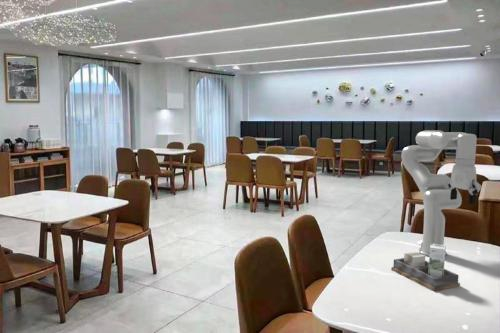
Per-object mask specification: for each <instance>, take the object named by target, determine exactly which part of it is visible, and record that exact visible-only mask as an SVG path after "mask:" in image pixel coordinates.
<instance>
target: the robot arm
mask: <svg viewBox="0 0 500 333" xmlns="http://www.w3.org/2000/svg"><path fill="white" fill-rule="evenodd" d="M477 139H478V138H477V135H476V134H474V133H466V132H460V131H458V132H457V131H455V132H454V131H450V132H448V131H447V132H444V131H443V130H423V131H419V132H418V133H416V136H415V142H416V144H412V145H408V146H406V147H404V148H403V149H402V151H401V155H400V156H401V162H402V164H403V166H404V168H405V169H406V171H407V172H408V173H409V174H410V176H411V177H412V178H413V181H414V182H415V184H416V186H417V187H418V189H419V191H420V192H421V193H423V196H422V202H423V212H424V213H423V229H422V230H423V233H422V239H420V240H419V241H418V242H417V245H419V246H420V247H419V248H418V253H420V254H422V255H425V257H426V256H427V257H429V256H430V245H431V244H438V245H445V244H444V242H445V229H446V227H445V226H446V217H445V215H444V213H443V211H442V210H453V209H454V210H455V209H458V208H459V207H460V206H461V205H462V201H463V200H462V195H461V192H460V191H459V190H463V191H464V190H465V191H468V193H469V195H468V201H467V203H468V205H474V204H476V197H477V196H476V195H478V194H479V192H480V190H481V189H482V185H481V184H480V183H479V182H478V181H477V168H476V164H475V163H476V152H477ZM443 150H455V158H454V162H455V163H454V164H453V166H452V170H451V173H450V174H451V175H450V177H449V175H446V174H441V173H431V172H430V170H429V169H428V167H427V166H426V165H425V164H424V163H421V162H433V161H434V160H436V159H437V158H438V156H439V155H440V154H441V152H443ZM446 256H447V251H446V250H445V257H446Z"/></svg>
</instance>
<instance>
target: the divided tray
mask: <svg viewBox="0 0 500 333" xmlns="http://www.w3.org/2000/svg"><path fill="white" fill-rule="evenodd" d="M403 256H404V257H401V258H396V259H393V266H392V267H391V271H393V272H395V273H397V274H398V275H401V276H403V277H404V278H406V279H409V280H411V281H413V282H415V283H417V284H418V285H420V286H422V287H424V288H426V289H427V290H430V291H432V292H437V291H442V290H447V289H453V288H457V287H458V288H459V287H460V286H461V283H460V282H459V276H460V275H459V274H457V273H455V272H452V271H451V270H448V269H445V268H444V277H438V278H434V277H432V276H430V275H428V272H429V260H428V261H427V260H426V255H423V254H421V253H420V252H419V251H418V252H417V251H411V252H410V251H409V252H404V255H403Z"/></svg>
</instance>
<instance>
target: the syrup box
mask: <svg viewBox="0 0 500 333" xmlns="http://www.w3.org/2000/svg"><path fill="white" fill-rule="evenodd" d="M446 247H447V246H446V245H445V244H444V245H438V244H431V245H430V256H428V257H429V259H428V262H429V272H428V275H430V276H432V277H434V278H438V277H444V269H445V260H446V256H445V251H446V249H447V248H446Z"/></svg>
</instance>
